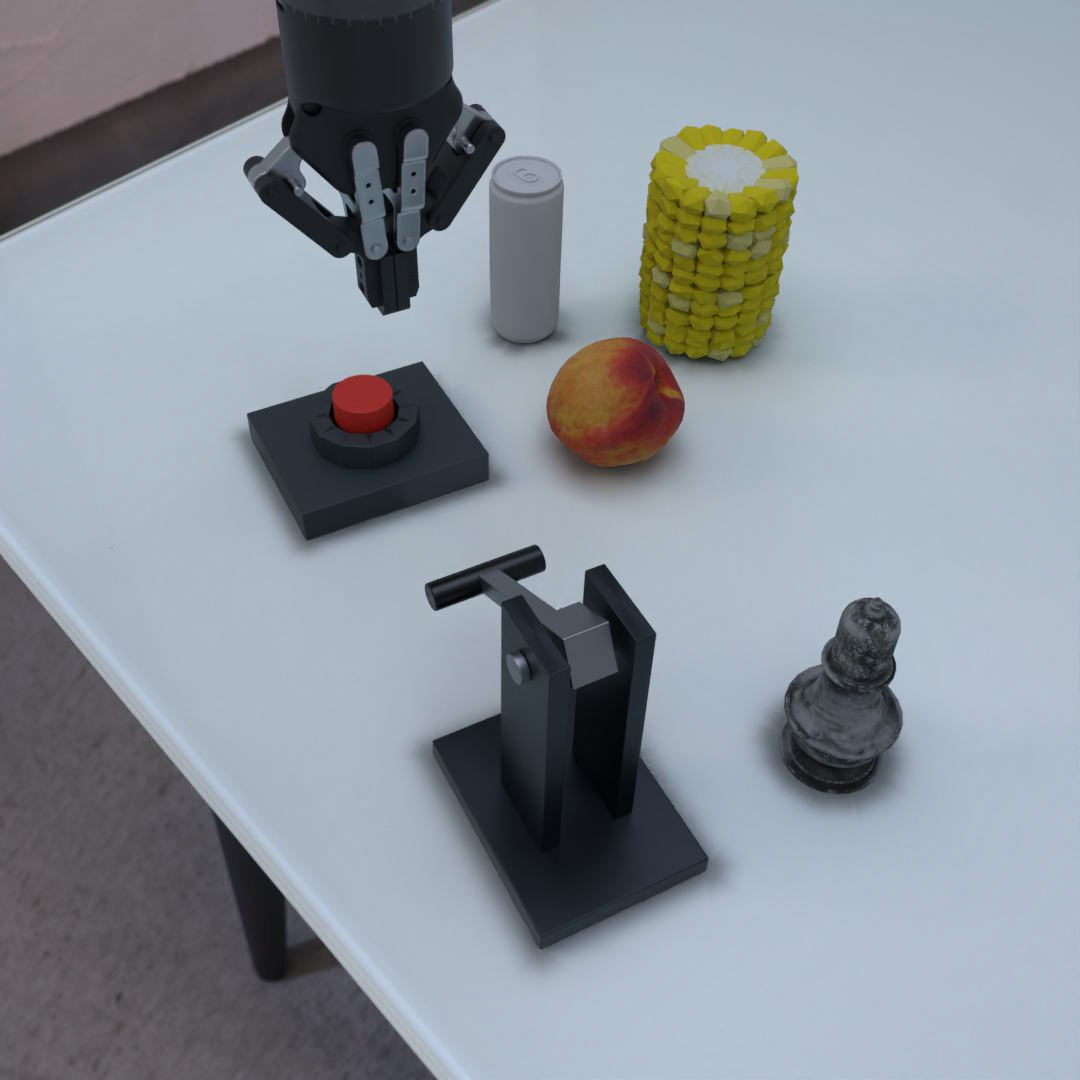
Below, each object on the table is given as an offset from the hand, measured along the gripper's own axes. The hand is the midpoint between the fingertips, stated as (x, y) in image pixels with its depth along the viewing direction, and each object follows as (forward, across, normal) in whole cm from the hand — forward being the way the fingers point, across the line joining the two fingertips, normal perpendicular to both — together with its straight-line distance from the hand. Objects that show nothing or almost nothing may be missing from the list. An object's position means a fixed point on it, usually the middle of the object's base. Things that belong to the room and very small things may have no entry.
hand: (389, 303), depth 68 cm
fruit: (+16, -14, +1) cm, 21 cm away
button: (+12, 0, -5) cm, 13 cm away
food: (+16, -26, -7) cm, 31 cm away
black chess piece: (+15, -13, +26) cm, 33 cm away
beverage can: (+16, -14, -13) cm, 25 cm away
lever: (+5, +1, +19) cm, 20 cm away
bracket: (+15, +1, +23) cm, 27 cm away
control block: (+15, 0, -5) cm, 16 cm away
